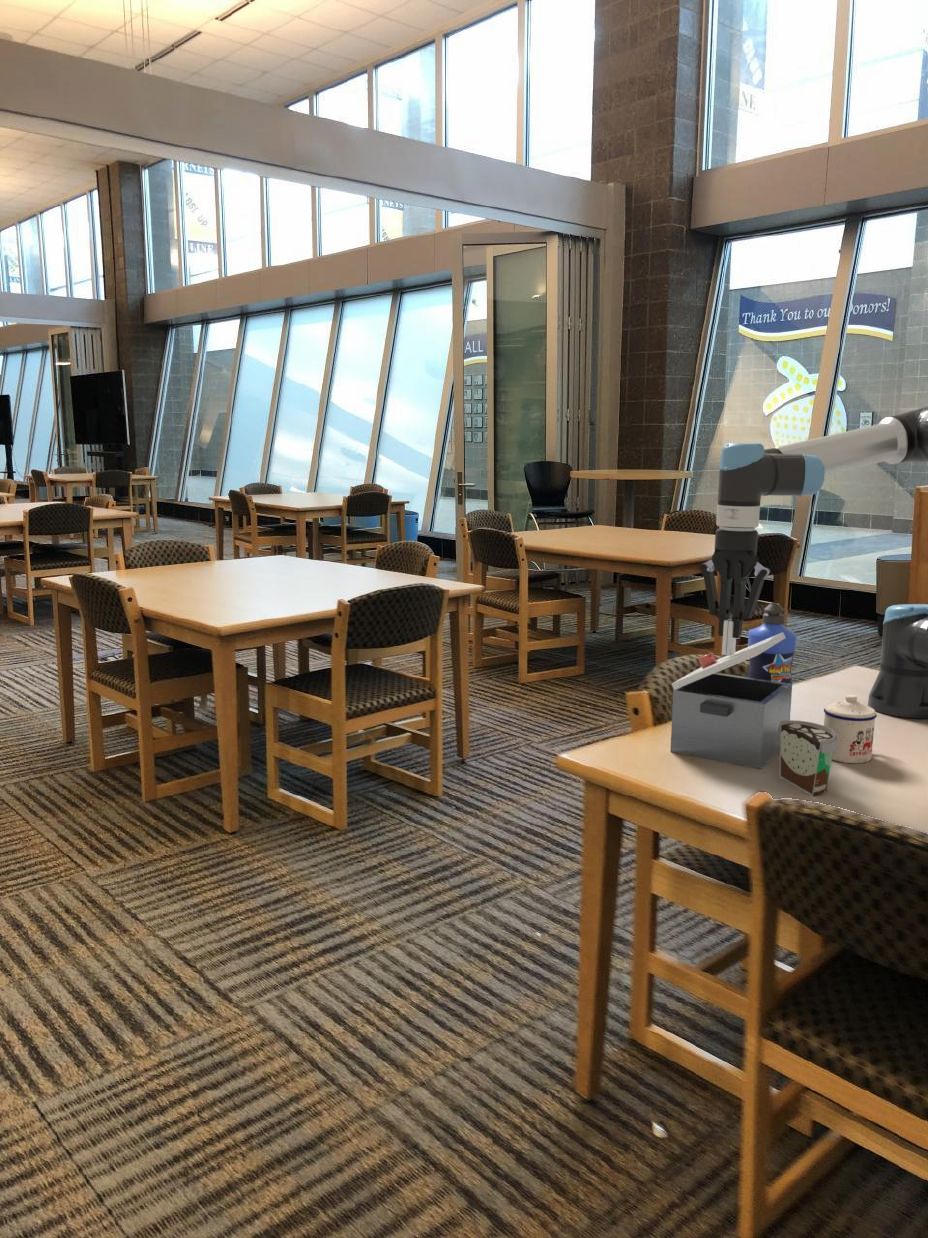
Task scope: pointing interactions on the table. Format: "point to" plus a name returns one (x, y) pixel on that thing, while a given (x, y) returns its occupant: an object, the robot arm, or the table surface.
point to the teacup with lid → (851, 729)
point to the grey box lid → (727, 660)
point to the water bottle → (773, 648)
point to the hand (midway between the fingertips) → (728, 653)
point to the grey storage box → (730, 719)
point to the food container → (806, 754)
